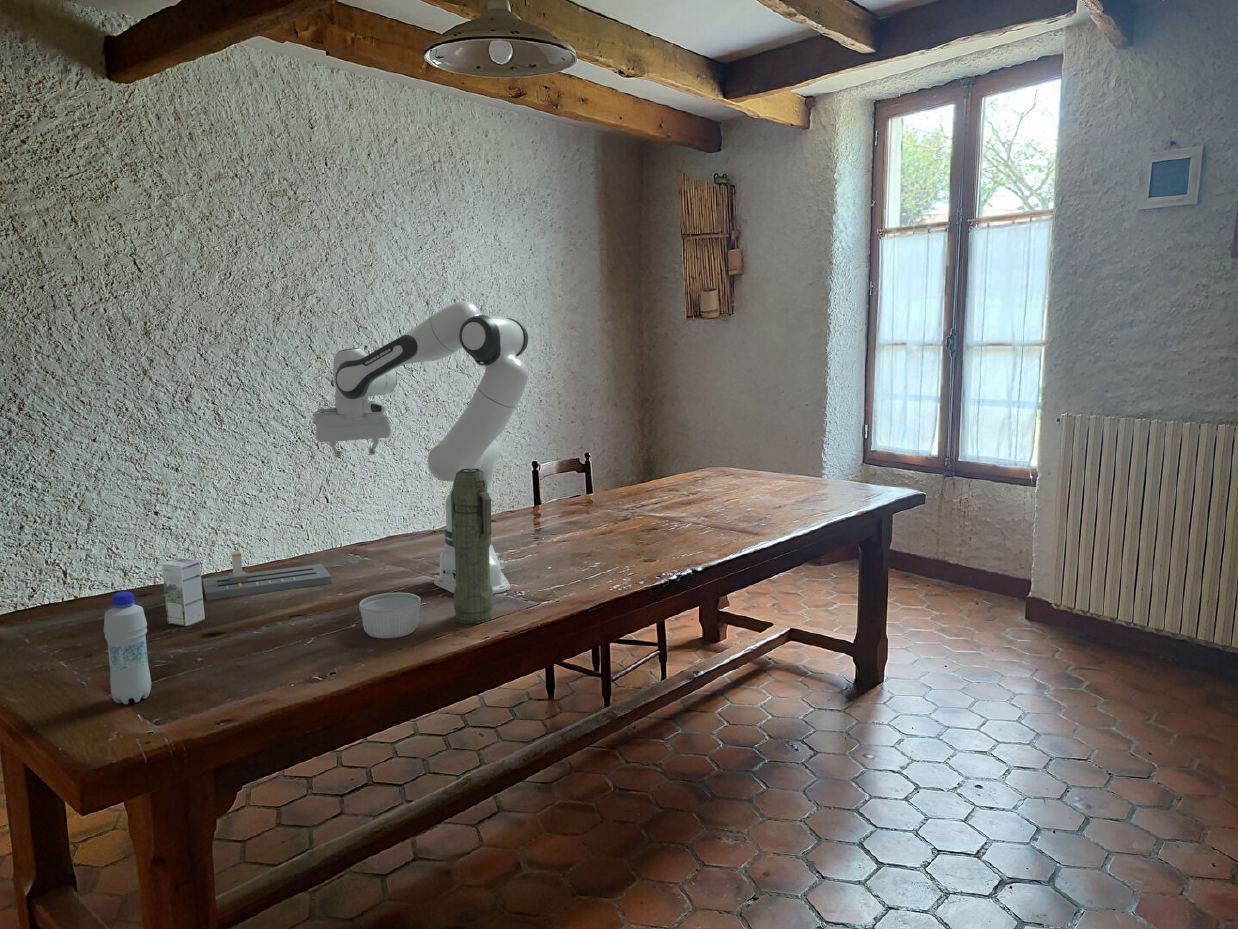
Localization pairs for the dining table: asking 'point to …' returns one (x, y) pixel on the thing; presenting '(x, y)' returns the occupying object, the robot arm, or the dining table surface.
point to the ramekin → (390, 614)
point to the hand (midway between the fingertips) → (355, 455)
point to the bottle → (127, 649)
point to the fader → (237, 569)
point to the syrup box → (183, 591)
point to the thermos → (471, 546)
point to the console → (267, 581)
